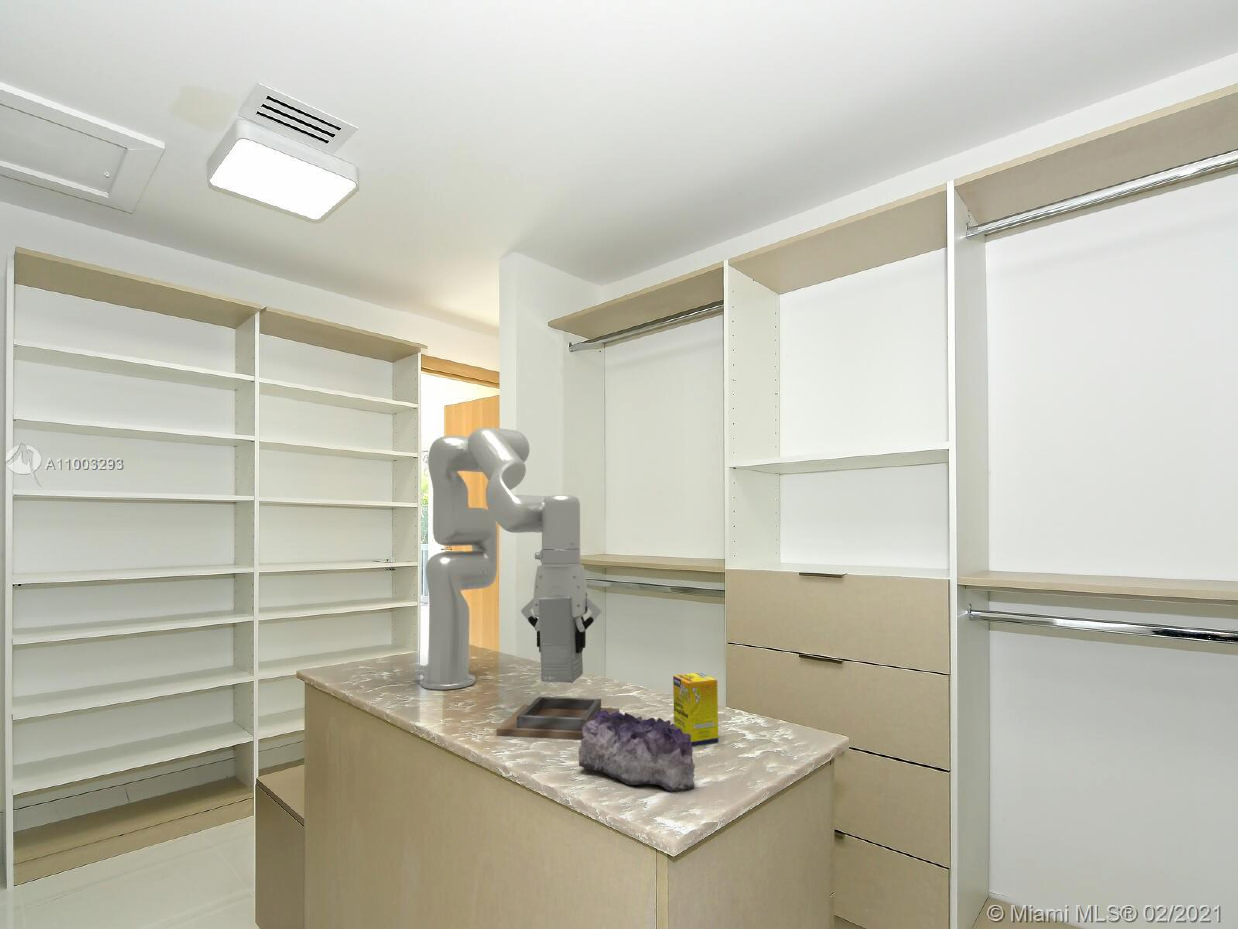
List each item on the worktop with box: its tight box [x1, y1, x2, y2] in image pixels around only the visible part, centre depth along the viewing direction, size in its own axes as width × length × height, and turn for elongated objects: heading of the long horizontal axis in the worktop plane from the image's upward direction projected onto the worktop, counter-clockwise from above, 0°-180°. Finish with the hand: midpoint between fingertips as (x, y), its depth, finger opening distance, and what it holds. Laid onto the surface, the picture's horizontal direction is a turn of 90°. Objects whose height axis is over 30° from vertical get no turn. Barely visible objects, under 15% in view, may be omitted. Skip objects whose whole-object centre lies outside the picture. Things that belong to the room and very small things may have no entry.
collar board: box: [496, 696, 620, 741], centre depth 126 cm, size 20×16×3 cm
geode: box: [578, 710, 696, 794], centre depth 102 cm, size 20×12×10 cm, turn 54°
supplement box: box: [672, 672, 719, 748], centre depth 117 cm, size 6×6×11 cm
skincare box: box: [538, 597, 584, 684], centre depth 127 cm, size 8×7×16 cm
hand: (561, 650), depth 127 cm, fingers closed on skincare box, 6 cm apart
